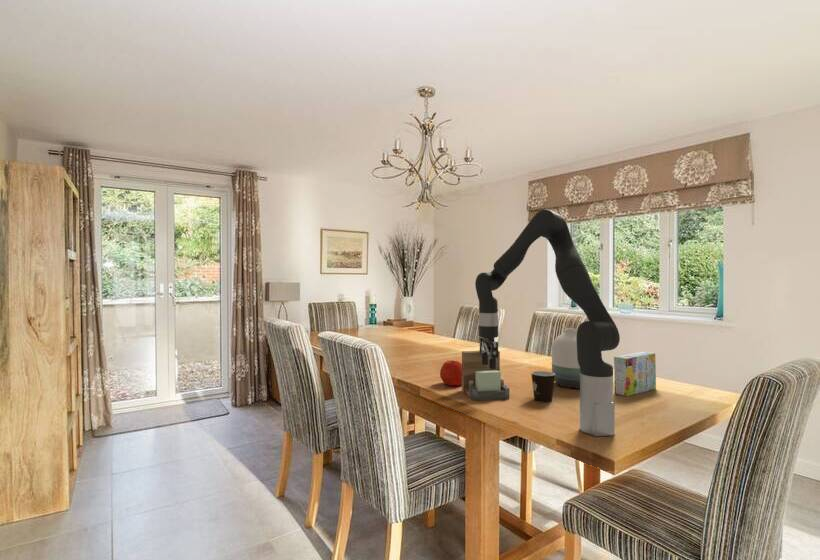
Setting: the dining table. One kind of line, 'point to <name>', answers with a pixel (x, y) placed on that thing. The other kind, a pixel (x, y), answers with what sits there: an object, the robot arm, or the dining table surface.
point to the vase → (566, 359)
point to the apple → (451, 373)
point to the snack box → (634, 373)
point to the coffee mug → (543, 385)
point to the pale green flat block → (488, 380)
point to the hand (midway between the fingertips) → (488, 366)
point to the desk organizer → (469, 368)
